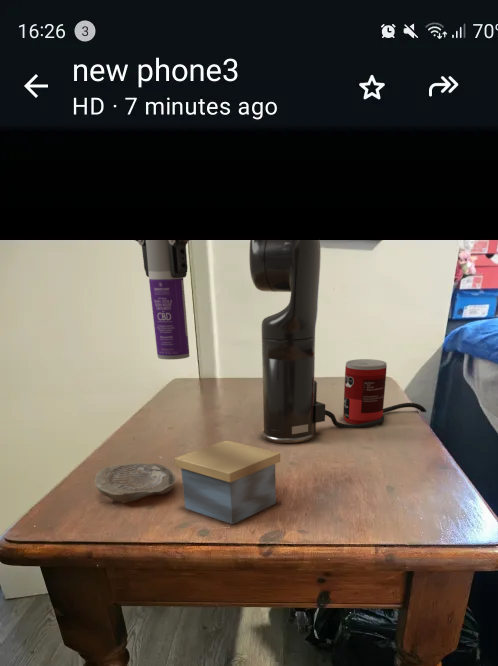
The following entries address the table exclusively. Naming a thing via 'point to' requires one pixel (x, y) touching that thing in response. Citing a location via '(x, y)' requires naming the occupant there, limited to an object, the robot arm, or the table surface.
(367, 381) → the canned food
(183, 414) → the table surface
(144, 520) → the table surface
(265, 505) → the board box
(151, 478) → the fossil
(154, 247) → the container
